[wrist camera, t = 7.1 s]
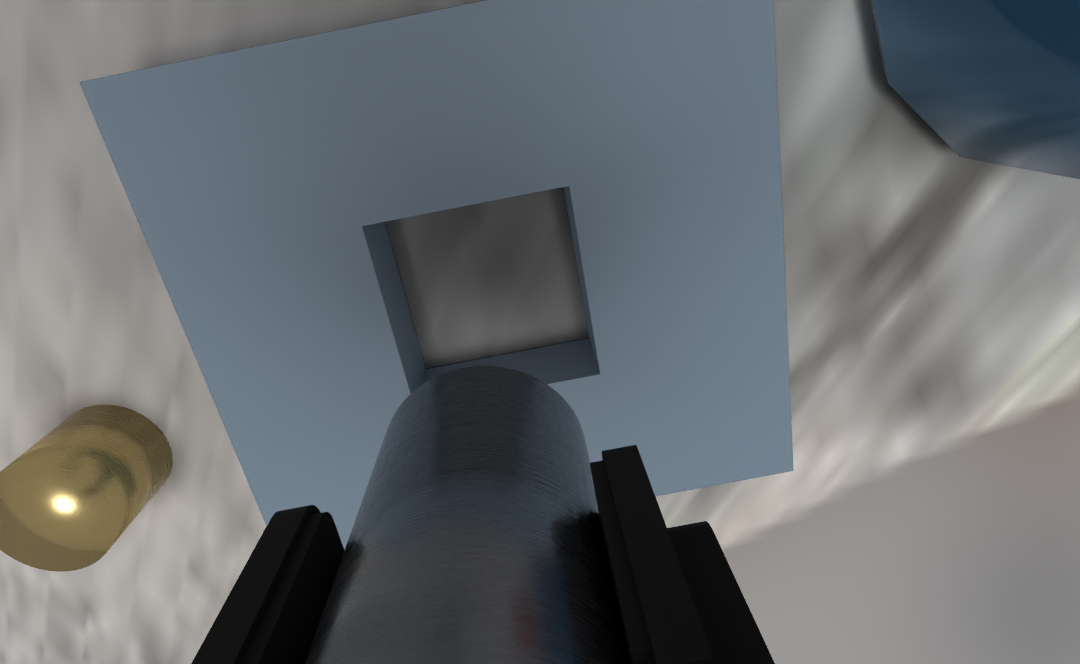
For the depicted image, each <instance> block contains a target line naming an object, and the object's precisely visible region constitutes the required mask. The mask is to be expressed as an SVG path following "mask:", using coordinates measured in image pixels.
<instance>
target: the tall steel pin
mask: <svg viewBox="0 0 1080 664" xmlns="http://www.w3.org/2000/svg"><path fill="white" fill-rule="evenodd" d="M305 664H631V661H630V657H629V652H628V647H627V643H626V638H625V633H624V629H623V624H622V619H621V615H620V610H619V605H618V601H617V596H616V591H615V587H614V582H613V577H612V573H611V568H610V563H609V559H608V554H607V550H606V545H605V540H604V536H603V531H602V526H601V522H600V517H599V512H598V506H597V501H596V495H595V490H594V484H593V479H592V474H591V468H590V459H589V455H588V450H587V446H586V441H585V437H584V433H583V429H582V427H581V425H580V422H579V420H578V418H577V416H576V414H575V413H574V411H573V409H572V408H571V407H570V405H569V404H568V403H567V402H566V400H565V399H564V398H563V397H562V396H561V395H560V394H559V393H557V392H556V391H555V390H554V389H553V388H551V387H550V386H549V385H547V384H546V383H544V382H543V381H541V380H539V379H537V378H535V377H533V376H531V375H529V374H526V373H523V372H521V371H518V370H514V369H509V368H505V367H497V366H473V367H465V368H460V369H456V370H452V371H449V372H446V373H443V374H441V375H438V376H436V377H434V378H432V379H431V380H429V381H427V382H425V383H424V384H422V385H421V386H420V387H418V388H417V389H415V390H414V391H413V392H412V393H411V394H410V395H409V396H408V397H407V398H406V399H405V400H404V401H403V402H402V404H401V405H400V406H399V407H398V409H397V410H396V412H395V414H394V415H393V417H392V419H391V421H390V424H389V426H388V429H387V431H386V434H385V437H384V440H383V443H382V445H381V448H380V451H379V454H378V457H377V460H376V462H375V465H374V468H373V471H372V474H371V477H370V479H369V482H368V485H367V488H366V491H365V494H364V496H363V499H362V502H361V505H360V508H359V511H358V513H357V516H356V519H355V522H354V525H353V528H352V530H351V533H350V536H349V539H348V542H347V545H346V548H345V550H344V553H343V556H342V559H341V562H340V565H339V567H338V570H337V573H336V576H335V579H334V582H333V584H332V587H331V590H330V593H329V596H328V599H327V601H326V604H325V607H324V610H323V613H322V616H321V618H320V621H319V624H318V627H317V630H316V633H315V635H314V638H313V641H312V644H311V647H310V650H309V653H308V655H307V658H306V661H305Z"/></svg>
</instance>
